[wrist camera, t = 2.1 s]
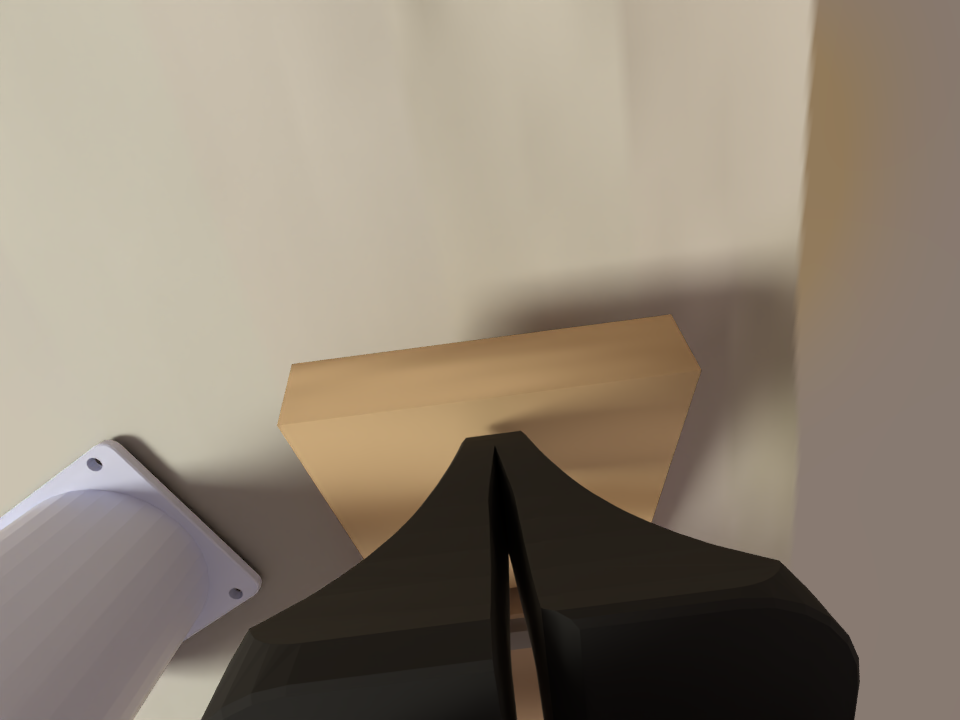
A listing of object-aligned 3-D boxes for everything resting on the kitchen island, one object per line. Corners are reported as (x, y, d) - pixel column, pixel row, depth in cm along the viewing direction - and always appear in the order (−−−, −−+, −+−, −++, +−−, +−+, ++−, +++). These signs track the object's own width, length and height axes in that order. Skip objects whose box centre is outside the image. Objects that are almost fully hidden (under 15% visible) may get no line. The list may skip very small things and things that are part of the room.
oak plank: (621, 525, 20) (635, 572, 18) (393, 554, 20) (392, 602, 18) (670, 314, 12) (701, 370, 11) (291, 364, 12) (277, 425, 11)
